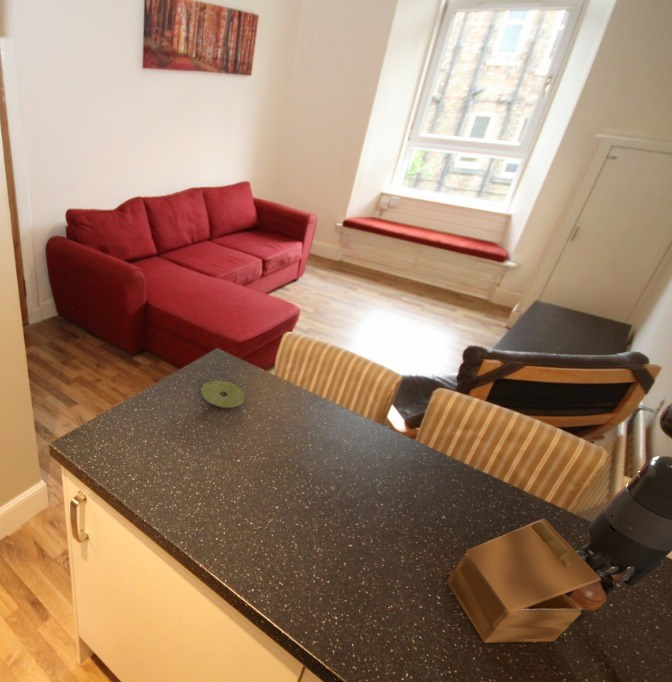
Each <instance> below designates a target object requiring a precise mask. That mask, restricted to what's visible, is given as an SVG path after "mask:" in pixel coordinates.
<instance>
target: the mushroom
mask: <svg viewBox="0 0 672 682" xmlns="http://www.w3.org/2000/svg"><path fill="white" fill-rule="evenodd" d="M569 599H570V600H571V601H572V602H573V603H574V605H575V606H576V607H577V609H579V611H580V612H582V611H583V610H585V611H590V612H595V611H597V610H599V609H600V607H602V606H603V605H604V604H605V603H606V601H607V596H606V594H605V592H604V590H603V588H602V586H601V584H600V583H599V581H597V582H595V583H592V584H589V585H586V586H584V587H581V588H578V589H576V590H575V591H574V592H573V593H572V594H571V595H570V596H569Z"/></svg>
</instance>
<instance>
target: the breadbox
mask: <svg viewBox="0 0 672 682" xmlns="http://www.w3.org/2000/svg"><path fill="white" fill-rule="evenodd" d="M445 583H446V584H447V587H448V588H449V589H450V591H451V592H452V594H453V596H454V597H455V599H456V601H457V602H458V604H459V605H460V607H461V609H462V610H463V611H464V613H465V615H466V616H467V618H468V620H469V621H470V623H471V624H472V626H473V628H474V629H475V631H476V632H477V634H478V635H479V637H480V639H481V640H482V643H485V644H487V643H489V644H491V643H493V644H494V643H495V644H496V643H533V642H535V643H539V642H555V641H556V640H557V639H558V638H559V637H560V636H561V635H562V634H563V633H564V632H565V631H566V630H567V629H568V627H570V626H571V624H573V622H574V621H576V619H578V617H579V616H581V614H582V611H579V609H577V607H576V606H575V605H574V603H573V602H572V601H571V600H570V599H569V597H568V596H567V595H566V594H562V595H559V596H557V597H554V598H551V599H548V600H546V601H543V602H540V603H538V604H535V605H532V606H529V607H527V608H524V609H521V610H519V611H516V612H513V613H509V612H508V610H507V609H506V608H505V606H504V605H503V603H502V602H501V601H500V599H499V598H498V596H497V595H496V593H495V592H494V591H493V589H492V588H491V586H490V585H489V584H488V582H487V581H486V579H485V578H484V577H483V575H482V574H481V572H480V571H479V570H478V568H477V567H476V565H475V564H474V562H473V561H472V560H471V558H470V557H469V555H468V554H467V553H464V554H463V556H462V558H461V559H460V561H459V562H458V563H457V564H456V567H455V568H454V570H453V571H452V572H451V574H450V575H449V576H448V578H447V580H446V581H445Z"/></svg>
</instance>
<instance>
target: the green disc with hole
mask: <svg viewBox="0 0 672 682" xmlns="http://www.w3.org/2000/svg"><path fill="white" fill-rule="evenodd" d="M200 390H201V391H200V392H201V395H202V397H203V399H204V400H205V401H206V402H208V403H210V404H211V405H213V406H216V407H219V408H225V409H227V408H228V409H229V408H236V407H239V406H241V405H242V404H244V403H245V401H246V393H245V392H244V390H243V389H242V388H241V386H238V385H237V384H235V383H232V382H229V381H226V380H211V381H208V382H206V383H205V384H203V386H201V389H200Z"/></svg>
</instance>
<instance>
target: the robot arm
mask: <svg viewBox="0 0 672 682" xmlns="http://www.w3.org/2000/svg"><path fill="white" fill-rule="evenodd" d="M659 428H660V431H662V432H663V434H664V435H665V436H666V437H668V438H669V439H671V440H672V402H671V403H669V404H668V405H667V406H666V407H665V409H663V411H662V413H661V415H660V418H659ZM588 533H589V537H590V538H589V539H590V540H589V542H588V543H587V544H584V545H583V546H582V547H581V548H580V549H579V550H575V551H576V552H577V554H578V555H579V556H580V557H581V558H582V559H583V560H584V561H585V562H586V563H587V564H588V565H589V566H590V567H591V568H592V569H593V570H594V572H595V573H596V574H597V575H598V576H599V577H600V578H601V580H600V581H599V583H600V584H601V586H602V588H603V590H604V592H605V594H606V597H607V596H608V595H609V594H610V593H611V592H612V591H613V590H614V589H620V588H621V587H622V586H623V584H625V585H627V586H629V587H630V586H631V587H632V586H634V585H635V584H636V583H638V582H639V581H640V580H642V579H643V578H645V577H646V576H647V575H648V574H649V573H651V572H653V571H654V570H655V569H656V568H657V567H659V566H660V565H661V564H662V561H663V560H664V559H665V558H666V557H667V556H669V554H670V553H672V456H670V455H669V456H668V455H657V456H653V457H652V458H650V459H648V460H647V461H646V462H645V463H644V464H643V465H642V467H640V469H639V470H638V471H637V472H636V473H635V475H634V476H633V477H632V478H631V479H630V480H629V482H628V483H627V484H626V485H625V486H624V487H623V488H621V489H620V490H619V491H617V492H616V493H614V495H613V496H612V498H611V499H609V501H608V503H607V504H606V505H605V506H604V507H603V508H602V509H601V511H599V513H598V514H597V515H596V517H594V519H593V520H591V522H590V523H589V525H588ZM574 591H575V590H573V591H570V592H567V593H565V594H566V595H567V596H568V597H569V596H570V595H571V594H572V593H573V592H574Z"/></svg>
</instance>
